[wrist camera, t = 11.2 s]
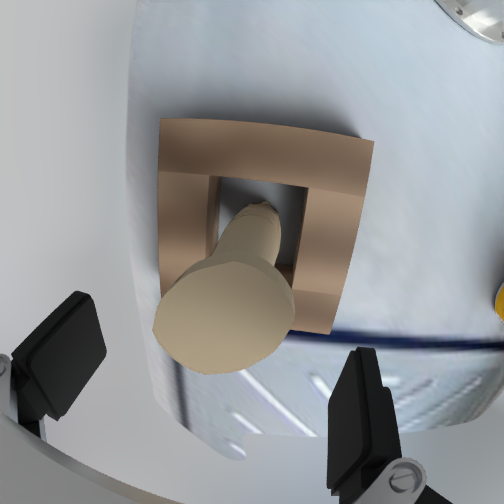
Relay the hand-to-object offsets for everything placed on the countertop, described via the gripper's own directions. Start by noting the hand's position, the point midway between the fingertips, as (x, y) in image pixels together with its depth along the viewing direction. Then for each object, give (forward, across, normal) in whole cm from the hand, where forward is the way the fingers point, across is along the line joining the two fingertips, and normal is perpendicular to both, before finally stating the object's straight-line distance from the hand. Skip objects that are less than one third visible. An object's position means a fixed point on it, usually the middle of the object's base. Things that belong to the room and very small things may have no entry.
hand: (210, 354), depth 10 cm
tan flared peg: (+17, 0, +1) cm, 17 cm away
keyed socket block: (+17, +1, +1) cm, 17 cm away
